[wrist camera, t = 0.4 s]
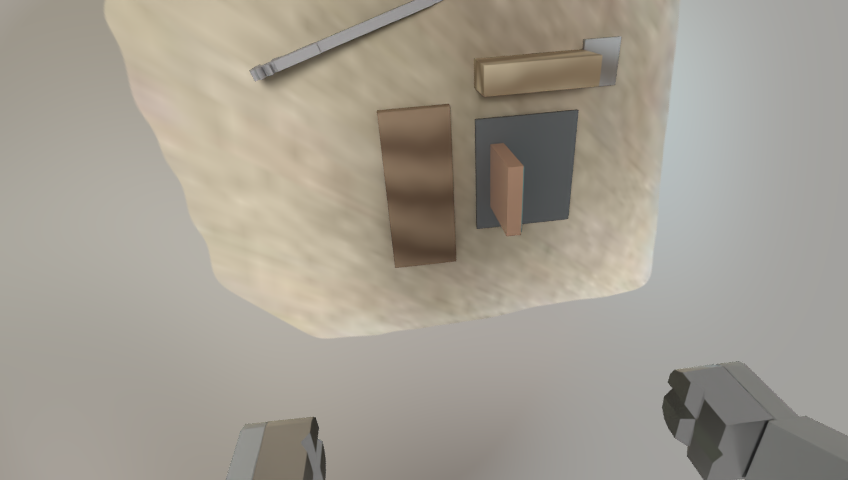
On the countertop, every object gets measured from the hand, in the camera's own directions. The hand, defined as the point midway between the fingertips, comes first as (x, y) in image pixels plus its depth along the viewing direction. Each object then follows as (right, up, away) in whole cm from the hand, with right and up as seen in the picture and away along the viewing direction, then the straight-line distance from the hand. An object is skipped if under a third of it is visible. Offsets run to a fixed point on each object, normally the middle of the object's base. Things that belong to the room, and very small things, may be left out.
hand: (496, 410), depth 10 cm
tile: (+7, +12, +45) cm, 47 cm away
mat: (+11, +12, +46) cm, 49 cm away
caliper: (-9, +25, +37) cm, 46 cm away
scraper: (+12, +23, +40) cm, 48 cm away
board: (-2, +10, +46) cm, 47 cm away
